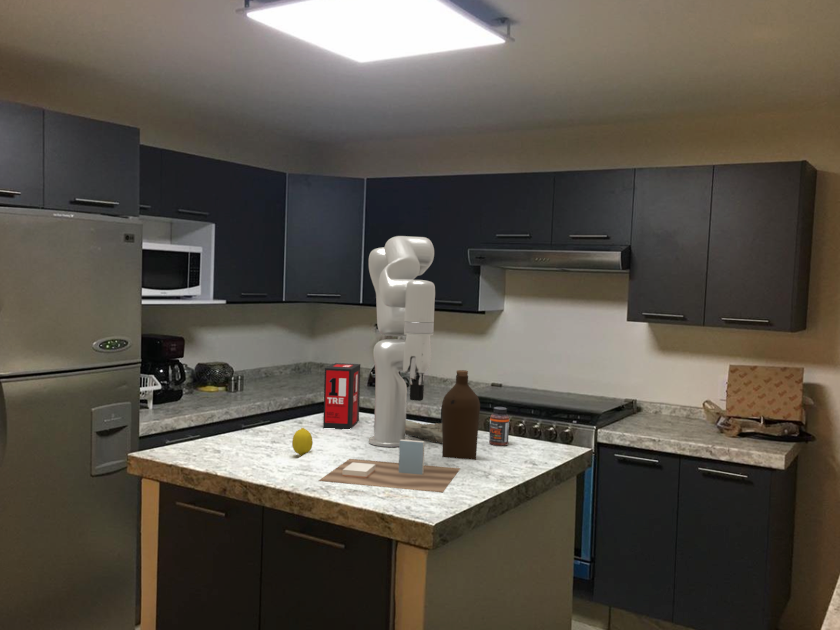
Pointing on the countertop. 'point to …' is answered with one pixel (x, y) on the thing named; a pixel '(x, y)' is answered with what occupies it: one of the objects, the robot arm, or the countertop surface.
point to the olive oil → (460, 420)
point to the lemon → (302, 441)
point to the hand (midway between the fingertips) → (416, 399)
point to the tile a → (359, 470)
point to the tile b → (411, 457)
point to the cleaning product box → (341, 395)
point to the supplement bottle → (499, 427)
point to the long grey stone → (425, 431)
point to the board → (396, 477)
